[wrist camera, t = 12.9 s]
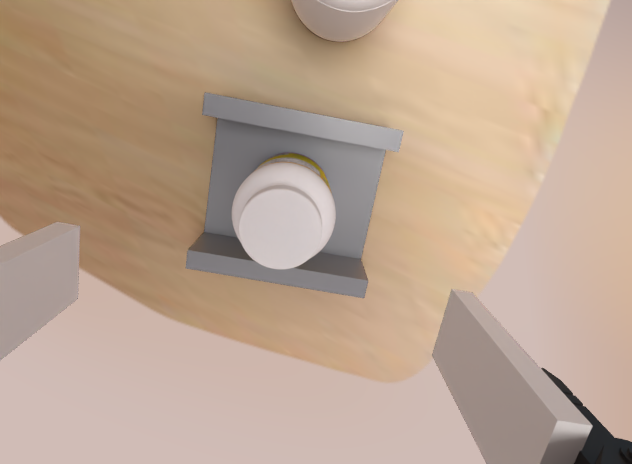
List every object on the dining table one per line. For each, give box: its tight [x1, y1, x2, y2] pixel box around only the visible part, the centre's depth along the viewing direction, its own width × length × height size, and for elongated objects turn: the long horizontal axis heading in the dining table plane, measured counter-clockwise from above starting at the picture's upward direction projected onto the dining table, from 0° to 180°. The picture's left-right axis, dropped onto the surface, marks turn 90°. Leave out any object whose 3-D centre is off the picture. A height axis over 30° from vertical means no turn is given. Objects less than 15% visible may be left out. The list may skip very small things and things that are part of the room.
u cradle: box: [186, 93, 404, 298], centre depth 33 cm, size 13×14×6 cm
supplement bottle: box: [232, 153, 336, 269], centre depth 29 cm, size 7×7×13 cm
